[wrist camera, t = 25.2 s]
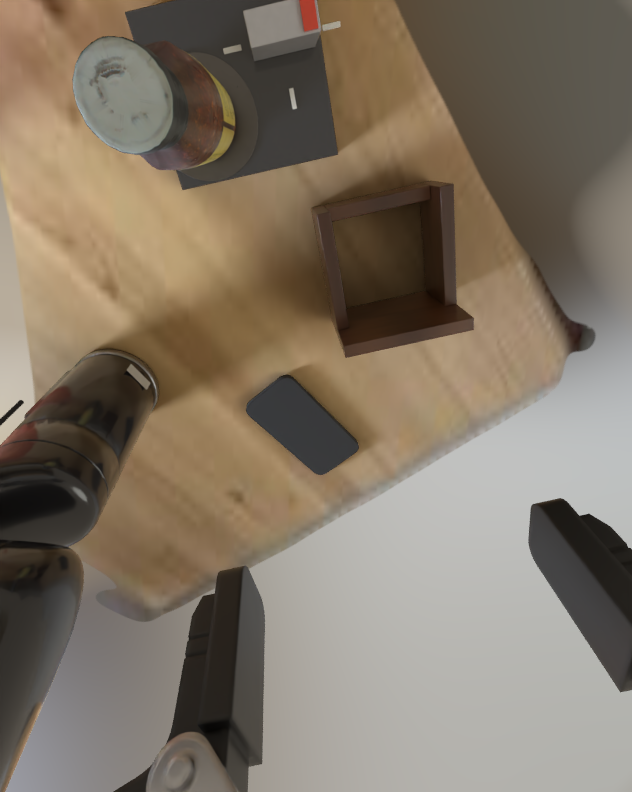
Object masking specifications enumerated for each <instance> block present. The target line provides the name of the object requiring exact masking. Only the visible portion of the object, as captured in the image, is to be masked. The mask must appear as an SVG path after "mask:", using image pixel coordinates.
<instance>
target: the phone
mask: <svg viewBox="0 0 632 792" xmlns="http://www.w3.org/2000/svg"><path fill="white" fill-rule="evenodd" d="M246 411H247V414H248V415H249V416H250V417H251V418H252V419H253V420H254V421H256V422H257V423H258V424H259V425H260V426H261V427H262V428H264V429H265V430H266V431H267V432H268V433H269V434H271V435H272V436H273V437H274V438H275V439H276V440H277V441H279V442H280V443H281V444H282V445H283V446H284V447H285V448H287V449H288V450H289V451H290V452H291V453H292V454H294V455H295V456H296V457H297V458H298V459H299V460H300V461H302V462H303V463H304V464H305V465H306V466H307V467H308V468H310V469H311V470H312V471H313V472H314V473H316V474H318V475H323V474H326V473H327V472H329V471H330V470H332V469H333V468H335V467H336V466H337V465H339V464H340V463H342V462H343V461H345V460H346V459H347V458H349V457H350V456H352V455H353V454H354V453H356V452H357V451H358V449H359V445H358V442H357V441H356V439H355V438H354V437H353V436H352V435H351V434H350V433H349V432H348V431H347V430H346V429H345V428H344V427H343V426H342V425H341V424H340V423H339V422H338V421H337V420H336V419H335V418H334V417H333V416H332V415H331V414H330V413H329V412H327V411H326V410H325V409H324V408H323V407H322V406H321V405H320V404H319V403H318V402H317V401H316V400H315V399H314V398H313V397H312V396H311V395H310V394H309V393H308V392H307V391H306V390H305V389H304V388H303V387H302V386H301V385H300V384H299V383H298V382H297V381H296V380H295V379H294V378H293V377H291V376H289V375H283V376H281V377H279V378H278V379H277V380H276V381H274V382H273V383H272V384H271V385H269V386H268V387H267V388H266V389H264V390H263V391H262V392H261V393H259V394H258V395H257V396H256V397H254V398H253V399H252V400H251V401H250V402H249V403H248V404H247V408H246Z"/></svg>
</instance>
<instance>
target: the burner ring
mask: <svg viewBox="0 0 632 792" xmlns="http://www.w3.org/2000/svg"><path fill="white" fill-rule="evenodd" d="M188 54H190V55H191V56H193V57H194V58H195V59H196V60H197V61H199V62H200V63H201V64H202V65H203V66H204V67H205V68H206V69H207V70H208V71H209V72H210V73H211V74H212V75H213V76H214V77H215V78H216V79H217V80H218V81H219V82H220V84H221V85H222V86H223V87H224V89H225V90H226V91H227V93H228V95H229V96H230V99H231V102H232V105H233V109H234V113H235V131H234V136H233V139H232V142H231V144H230V146H229V148H228V149H227V150H226V152H225V153H224V154H223V155H222V156H220V157H219V158H217V159H216V160H214V161H212V162H209V163H206V164H203V165H200V166H197V167H194V168H190V169H182V170H179V171H181V172H182V173H184V174H186V175H187V176H190V177H192V178H194V179H198V180H202V181H218V180H223V179H226V178H228V177H230V176H233V175H234V174H236V173H237V172H238V171H240V170H241V169H242V168H243V167H244V166H245V164H246V163H247V162H248V160H249V159H250V157H251V155H252V153H253V151H254V148H255V145H256V141H257V135H258V116H257V110H256V106H255V102H254V99H253V97H252V94H251V92H250V90H249V88H248V86H247V84H246V83H245V82H244V80H243V79H242V77H241V76H240V75H239V74H238V73H237V71H236V70H235V69H233V68H232V67H231V66H230V65H229V64H227V63H226V62H225V61H223V60H221V59H219V58H217V57H215V56H213V55H210V54H206V53H200V52H192V53H188Z"/></svg>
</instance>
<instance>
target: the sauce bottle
mask: <svg viewBox="0 0 632 792" xmlns="http://www.w3.org/2000/svg"><path fill="white" fill-rule="evenodd" d="M73 92H74V96H75V99H76V104H77V106H78V108H79V110H80V113H81V115H82V116H83V118H84V120H85V122H86V124H87V126H88V127H89V128H90V129H91V130H92V132H93V133H94V134H95V135H96V136H97V137H99V138H100V139H101V140H102V141H103V142H104V143H106V144H107V145H108V146H110V147H112V148H114V149H116V150H118V151H120V152H123V153H128V154H135V155H140V156H141V157H143V158H144V159H145V160H146V161H147V162H148V163H149V164H150V165H151V166H153V167H155V168H156V169H159V170H182V169H190V168H194V167H197V166H200V165H203V164H206V163H209V162H212V161H214V160H216V159H217V158H219V157H220V156H222V155H223V154H224V153H225V152H226V150H227V149H228V148H229V146H230V144H231V142H232V139H233V136H234V131H235V113H234V109H233V105H232V102H231V99H230V96H229V95H228V93H227V91H226V90H225V89H224V87H223V86H222V85H221V84H220V82H219V81H218V80H217V79H216V78H215V77H214V76H213V75H212V74H211V73H210V72H209V71H208V70H207V69H206V68H205V67H204V66H203V65H202V64H201V63H200V62H199V61H197V60H196V59H195V58H194V57H193V56H191V55H190V54H188V53H186V52H185V51H183V50H181V49H179V48H178V47H177V46H175V45H173V44H172V43H170V42H168V41H165V40H163V41H159V42H154V43H149V44H145V45H141V44H139V43H137V42H135V41H132V40H129V39H127V38H124V37H115V36H106V37H101V38H99V39H97V40H95V41H94V42H92V43H91V44H90V45H88V46H87V47H86V48H85V49H84V50H83V51H82V52H81V54H80V56H79V58H78V60H77V63H76V65H75V70H74V76H73Z"/></svg>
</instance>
